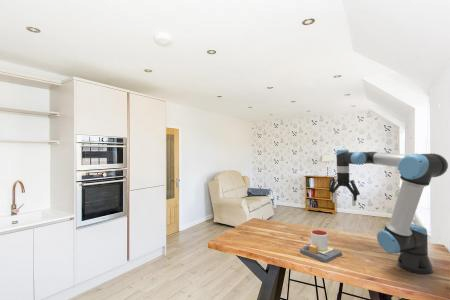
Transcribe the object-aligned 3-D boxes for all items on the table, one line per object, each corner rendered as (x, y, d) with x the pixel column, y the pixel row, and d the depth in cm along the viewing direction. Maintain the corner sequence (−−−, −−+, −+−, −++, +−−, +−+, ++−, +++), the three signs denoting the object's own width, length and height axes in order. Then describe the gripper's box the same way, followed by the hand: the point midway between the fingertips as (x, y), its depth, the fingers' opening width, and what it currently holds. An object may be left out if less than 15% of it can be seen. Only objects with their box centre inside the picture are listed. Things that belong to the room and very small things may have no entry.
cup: (329, 251, 151) (329, 235, 151) (312, 251, 152) (312, 235, 152) (326, 245, 160) (325, 230, 160) (310, 244, 162) (309, 229, 162)
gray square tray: (341, 255, 151) (341, 247, 151) (325, 263, 141) (325, 254, 141) (316, 246, 165) (316, 238, 165) (299, 252, 156) (299, 244, 156)
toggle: (317, 253, 150) (317, 246, 150) (314, 254, 148) (314, 247, 148) (312, 251, 153) (312, 244, 153) (309, 252, 151) (309, 245, 151)
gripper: (365, 173, 156) (366, 206, 156) (329, 170, 176) (330, 200, 176) (359, 173, 151) (360, 208, 151) (323, 171, 172) (323, 201, 172)
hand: (343, 203), depth 164 cm, fingers open, 13 cm apart
